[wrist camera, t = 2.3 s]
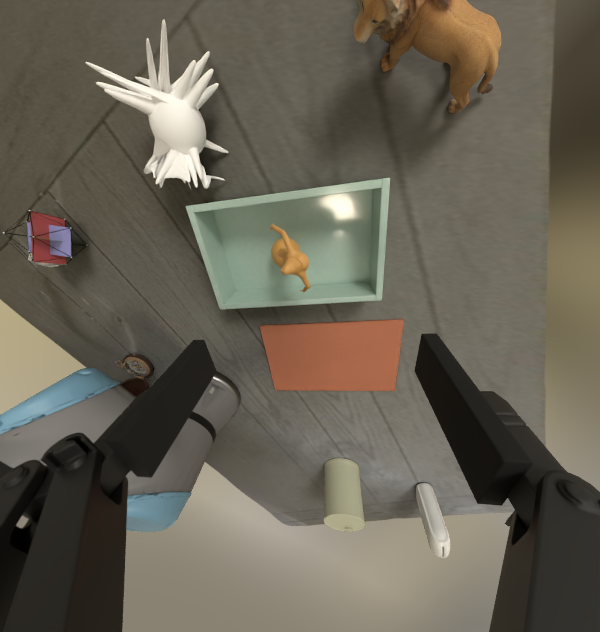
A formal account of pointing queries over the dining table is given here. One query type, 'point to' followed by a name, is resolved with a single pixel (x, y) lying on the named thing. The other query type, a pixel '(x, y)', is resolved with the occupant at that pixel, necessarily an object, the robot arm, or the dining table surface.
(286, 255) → the figurine
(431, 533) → the white curved piece
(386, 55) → the lion figurine
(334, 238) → the basin
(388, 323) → the mat
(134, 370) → the compass
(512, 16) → the dining table surface
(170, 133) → the spiky ball
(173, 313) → the dining table surface
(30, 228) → the geometric puzzle
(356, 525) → the can
